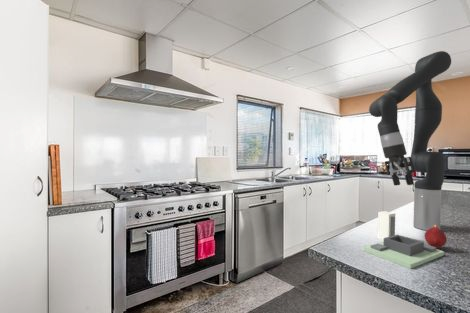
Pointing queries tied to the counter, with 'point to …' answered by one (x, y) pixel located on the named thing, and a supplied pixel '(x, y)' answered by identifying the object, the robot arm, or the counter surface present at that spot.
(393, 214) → the plug
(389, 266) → the counter surface
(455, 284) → the counter surface
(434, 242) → the onion
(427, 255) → the board
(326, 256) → the counter surface
